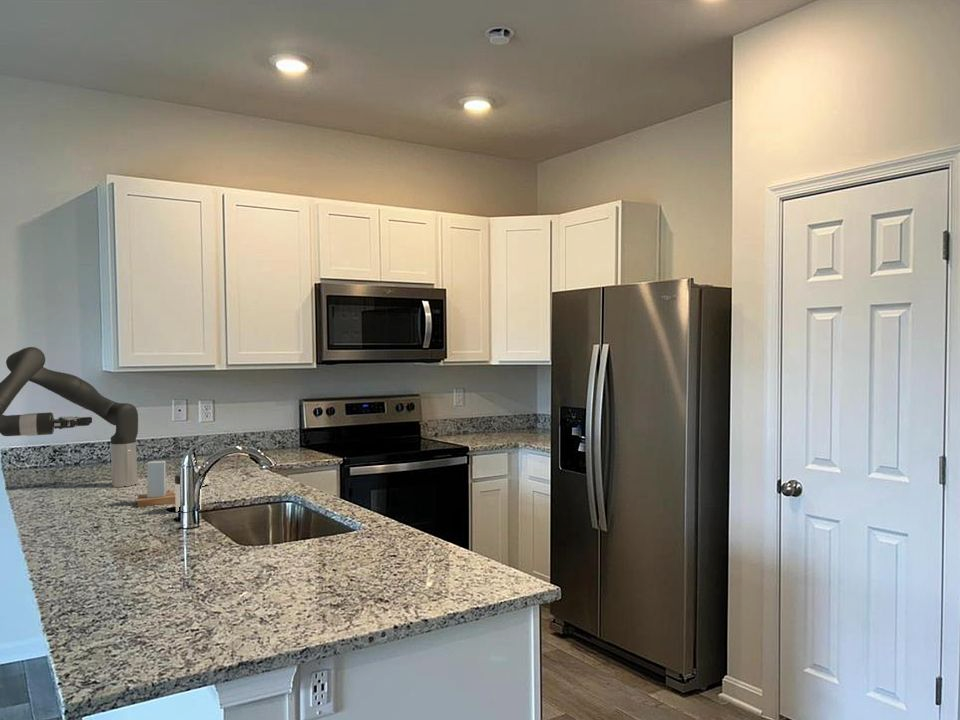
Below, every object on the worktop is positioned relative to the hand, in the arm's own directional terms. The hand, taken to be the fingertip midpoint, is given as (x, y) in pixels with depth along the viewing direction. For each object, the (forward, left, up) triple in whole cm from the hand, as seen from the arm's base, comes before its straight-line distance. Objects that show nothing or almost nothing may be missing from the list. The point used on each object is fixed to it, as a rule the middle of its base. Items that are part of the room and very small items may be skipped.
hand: (90, 421), depth 250 cm
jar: (+23, +30, -30) cm, 48 cm away
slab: (+4, +20, -31) cm, 37 cm away
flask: (-22, +36, -30) cm, 52 cm away
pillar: (+4, +20, -28) cm, 34 cm away
